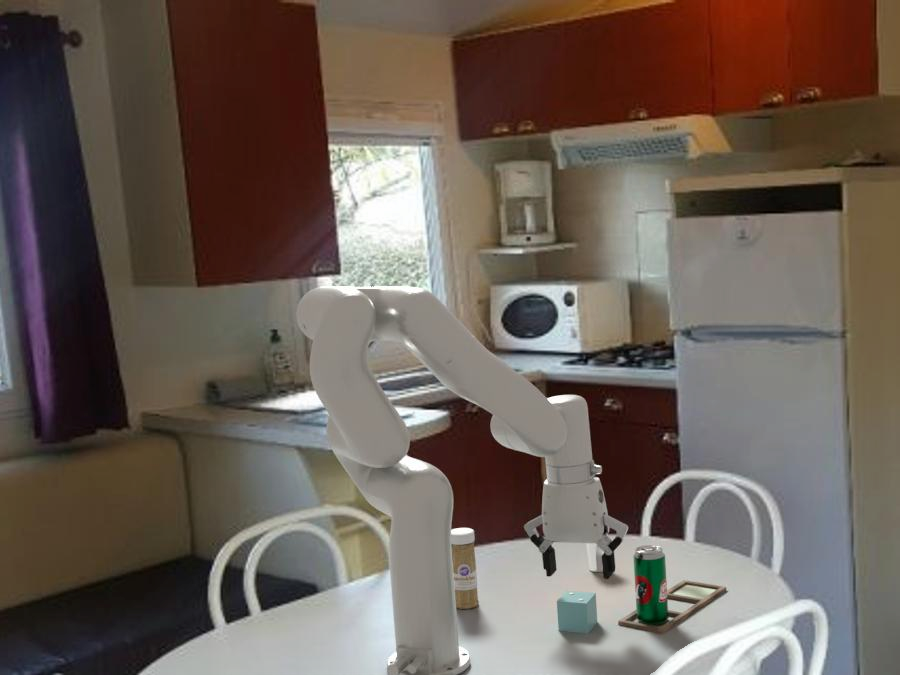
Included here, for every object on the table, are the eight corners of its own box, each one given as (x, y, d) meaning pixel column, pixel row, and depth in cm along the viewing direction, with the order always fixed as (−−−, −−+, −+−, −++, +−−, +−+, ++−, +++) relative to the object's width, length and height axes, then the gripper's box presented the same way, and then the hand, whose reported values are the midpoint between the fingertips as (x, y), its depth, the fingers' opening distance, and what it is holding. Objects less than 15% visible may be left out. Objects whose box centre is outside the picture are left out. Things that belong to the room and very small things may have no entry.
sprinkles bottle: (457, 611, 193) (452, 535, 191) (450, 603, 197) (444, 529, 196) (482, 607, 194) (477, 531, 192) (474, 599, 198) (469, 525, 197)
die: (588, 633, 178) (586, 603, 178) (558, 631, 181) (556, 600, 180) (597, 622, 183) (595, 592, 182) (568, 620, 185) (566, 590, 185)
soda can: (668, 626, 179) (664, 553, 177) (636, 626, 180) (632, 554, 178) (668, 615, 184) (664, 544, 182) (637, 615, 185) (633, 544, 183)
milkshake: (583, 574, 207) (580, 522, 206) (588, 565, 212) (585, 514, 211) (607, 575, 206) (604, 522, 205) (612, 566, 211) (609, 514, 210)
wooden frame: (663, 633, 176) (662, 629, 176) (618, 624, 181) (618, 621, 181) (726, 590, 193) (726, 587, 193) (683, 583, 198) (683, 580, 198)
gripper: (628, 466, 179) (637, 569, 181) (527, 466, 186) (537, 565, 188) (615, 479, 172) (625, 585, 174) (511, 478, 179) (521, 580, 182)
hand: (579, 575), depth 181 cm, fingers open, 9 cm apart
